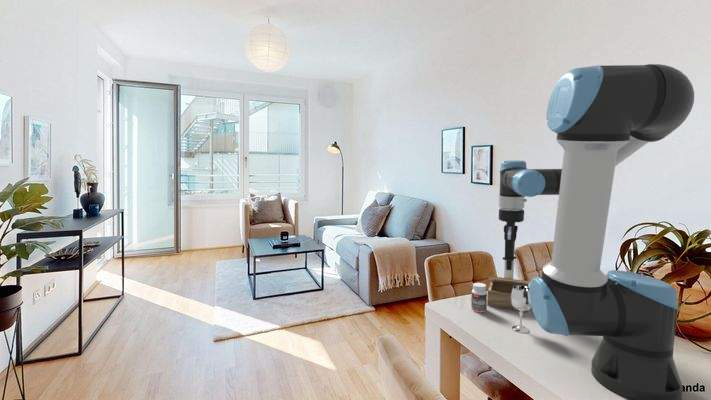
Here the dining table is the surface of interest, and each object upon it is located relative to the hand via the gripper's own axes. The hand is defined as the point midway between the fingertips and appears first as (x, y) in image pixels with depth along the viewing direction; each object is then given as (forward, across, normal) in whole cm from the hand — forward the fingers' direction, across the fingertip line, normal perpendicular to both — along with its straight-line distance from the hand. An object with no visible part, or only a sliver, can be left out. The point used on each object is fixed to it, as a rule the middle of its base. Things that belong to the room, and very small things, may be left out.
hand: (508, 278), depth 117 cm
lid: (+2, +1, 0) cm, 2 cm away
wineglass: (+8, -19, -5) cm, 21 cm away
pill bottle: (+9, -10, +8) cm, 15 cm away
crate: (+9, 0, 0) cm, 9 cm away
